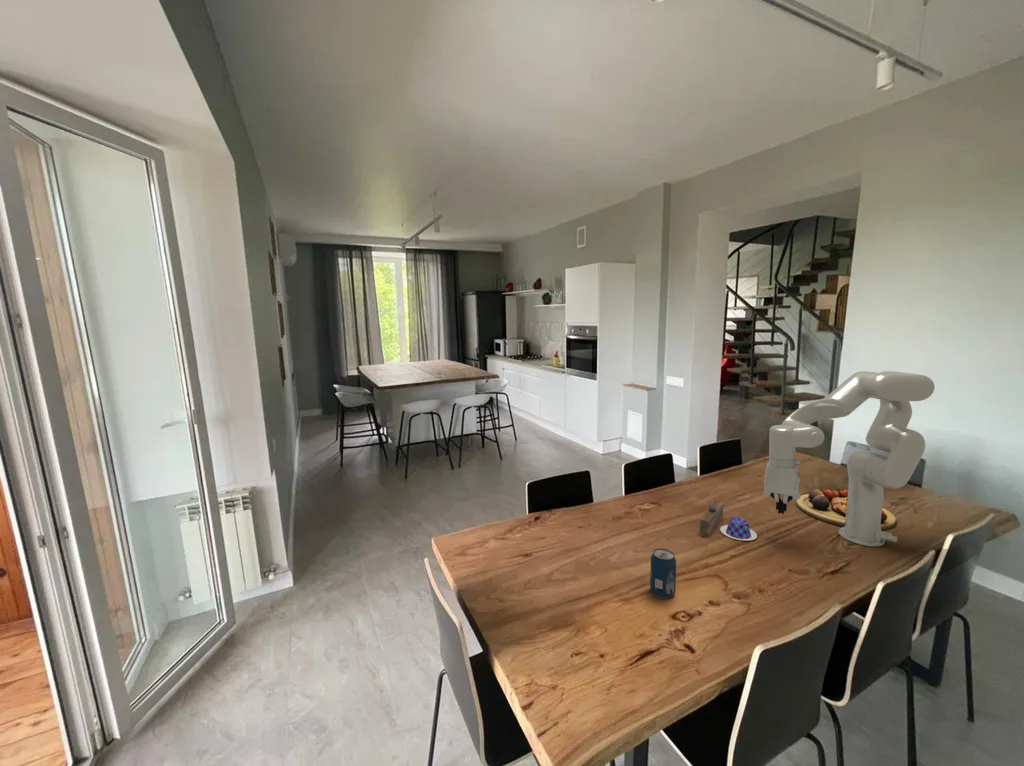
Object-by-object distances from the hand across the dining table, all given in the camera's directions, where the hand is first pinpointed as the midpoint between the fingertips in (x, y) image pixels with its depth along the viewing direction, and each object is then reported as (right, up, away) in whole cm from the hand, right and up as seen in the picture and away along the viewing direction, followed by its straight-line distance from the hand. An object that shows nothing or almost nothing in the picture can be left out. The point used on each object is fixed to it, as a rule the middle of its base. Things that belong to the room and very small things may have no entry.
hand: (781, 512), depth 148 cm
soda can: (-50, -16, -24) cm, 58 cm away
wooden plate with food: (+40, -8, +24) cm, 47 cm away
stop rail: (-17, -10, +15) cm, 25 cm away
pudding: (-10, -11, +9) cm, 17 cm away
